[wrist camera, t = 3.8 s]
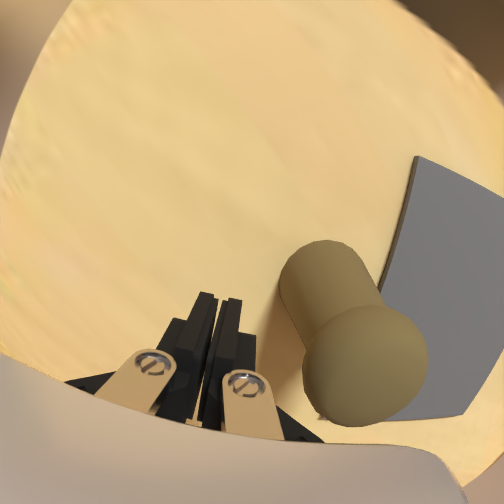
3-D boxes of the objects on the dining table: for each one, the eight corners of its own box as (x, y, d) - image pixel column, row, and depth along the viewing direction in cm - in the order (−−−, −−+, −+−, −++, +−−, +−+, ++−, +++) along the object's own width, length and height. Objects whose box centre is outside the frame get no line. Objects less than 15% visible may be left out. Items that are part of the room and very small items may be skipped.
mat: (460, 411, 23) (462, 414, 23) (321, 414, 23) (322, 419, 22) (544, 225, 17) (547, 227, 17) (414, 156, 17) (419, 155, 16)
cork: (343, 332, 20) (394, 449, 10) (266, 309, 20) (269, 437, 9) (379, 257, 19) (476, 341, 8) (298, 226, 18) (346, 302, 8)
